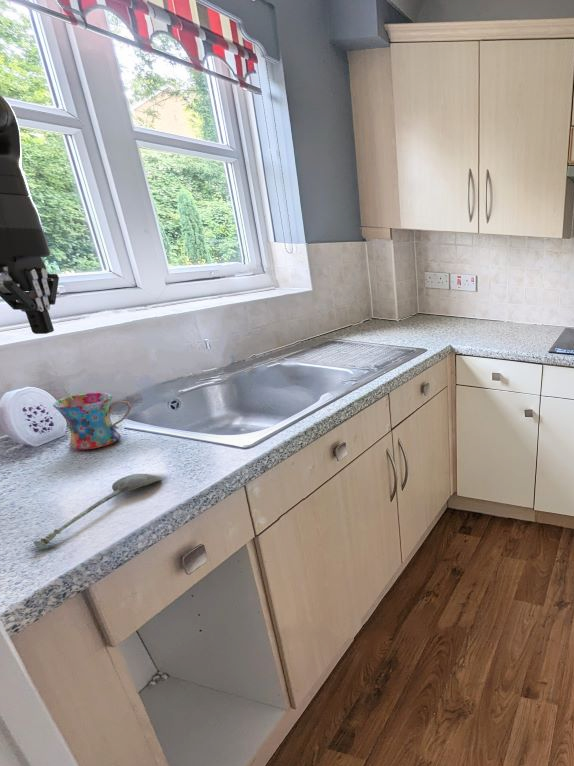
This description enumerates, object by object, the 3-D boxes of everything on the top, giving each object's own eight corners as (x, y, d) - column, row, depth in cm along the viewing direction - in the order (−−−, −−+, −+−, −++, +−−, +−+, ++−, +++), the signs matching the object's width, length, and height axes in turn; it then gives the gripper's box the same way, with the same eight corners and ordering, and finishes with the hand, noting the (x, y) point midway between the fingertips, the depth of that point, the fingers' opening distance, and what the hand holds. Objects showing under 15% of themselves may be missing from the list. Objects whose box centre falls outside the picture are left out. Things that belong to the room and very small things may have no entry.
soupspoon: (171, 481, 90) (139, 481, 90) (167, 466, 89) (134, 466, 89) (60, 550, 69) (18, 550, 69) (53, 531, 68) (10, 531, 68)
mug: (63, 456, 96) (47, 410, 92) (72, 440, 103) (58, 396, 99) (137, 444, 102) (125, 400, 99) (141, 430, 109) (129, 388, 106)
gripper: (7, 224, 76) (40, 326, 82) (-59, 223, 65) (-15, 342, 71) (63, 226, 79) (92, 325, 85) (9, 226, 67) (47, 340, 73)
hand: (43, 332), depth 78 cm, fingers closed
